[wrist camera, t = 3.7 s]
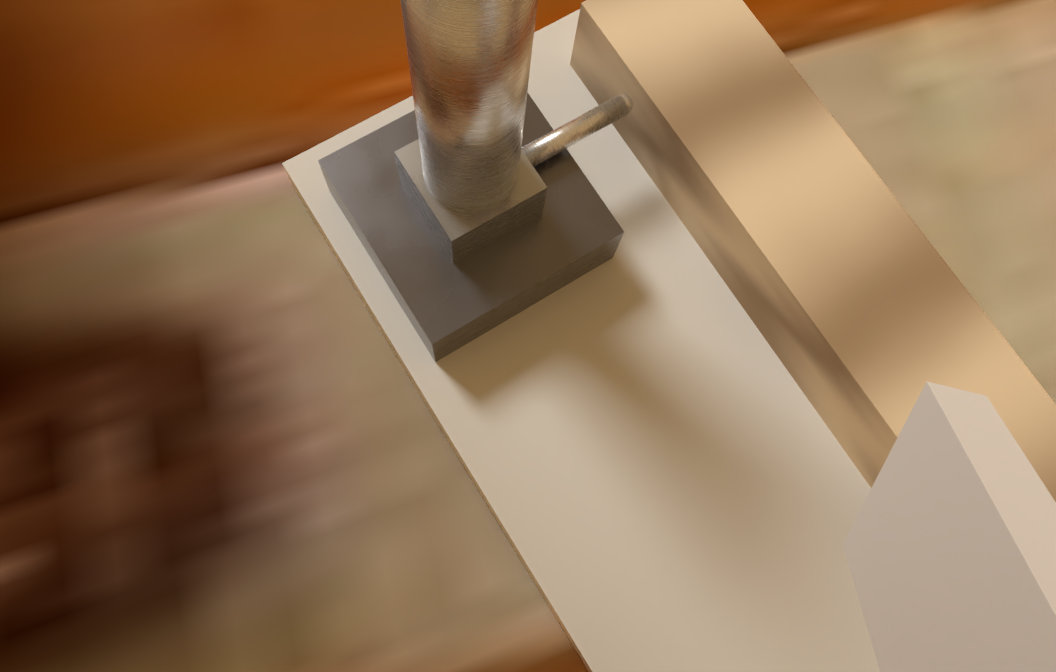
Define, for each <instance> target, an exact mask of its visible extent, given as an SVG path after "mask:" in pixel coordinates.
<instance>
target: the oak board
mask: <svg viewBox="0 0 1056 672" xmlns="http://www.w3.org/2000/svg"><path fill="white" fill-rule="evenodd" d="M570 65H571V67H572V68H573V69H574V71H575V72H576V74H577V75H578V77H579V78H580V79H581V81H582V82H583V84H584V85H585V86H586V88H587V89H588V91H589V92H590V93H591V95H592V96H593V98H594V99H595V100H596V102H597V103H598V105H600V104H602V103H604V102H606V101H608V100H609V99H611V98H613V97H615V96H617V95H619V94H626V95H628V96H629V97H630V98H631V99H632V101H633V108H632V111H631V112H630V113H629V114H628V115H626V116H625V117H623V118H621V119H619V120H617V121H616V122H614V123H612V124H613V126H614V127H615V129H616V130H617V131H618V133H619V134H620V136H621V137H622V138H623V140H624V141H625V143H626V144H627V145H628V147H629V148H630V150H631V151H632V152H633V154H634V155H635V157H636V158H637V160H638V161H639V162H640V164H641V165H642V167H643V168H644V169H645V171H646V172H647V174H648V175H649V176H650V178H651V179H652V181H653V182H654V183H655V185H656V186H657V188H658V189H659V190H660V192H661V193H662V195H663V196H664V197H665V199H666V200H667V202H668V203H669V205H670V206H671V207H672V209H673V210H674V212H675V213H676V214H677V216H678V217H679V219H680V220H681V221H682V223H683V224H684V226H685V227H686V228H687V230H688V231H689V233H690V234H691V235H692V237H693V238H694V240H695V241H696V243H697V244H698V245H699V247H700V248H701V250H702V251H703V252H704V254H705V255H706V257H707V258H708V259H709V261H710V262H711V264H712V265H713V266H714V268H715V269H716V271H717V272H718V273H719V275H720V276H721V278H722V279H723V280H724V282H725V283H726V285H727V286H728V288H729V289H730V290H731V292H732V293H733V295H734V296H735V297H736V299H737V300H738V302H739V303H740V304H741V306H742V307H743V309H744V310H745V311H746V313H747V314H748V316H749V317H750V318H751V320H752V321H753V323H754V324H755V325H756V327H757V328H758V330H759V331H760V333H761V334H762V335H763V337H764V338H765V340H766V341H767V342H768V344H769V345H770V347H771V348H772V349H773V351H774V352H775V354H776V355H777V356H778V358H779V359H780V361H781V362H782V363H783V365H784V366H785V368H786V369H787V371H788V372H789V373H790V375H791V376H792V378H793V379H794V380H795V382H796V383H797V385H798V386H799V387H800V389H801V390H802V392H803V393H804V394H805V396H806V397H807V399H808V400H809V401H810V403H811V404H812V406H813V407H814V408H815V410H816V411H817V413H818V414H819V416H820V417H821V418H822V420H823V421H824V423H825V424H826V425H827V427H828V428H829V430H830V431H831V432H832V434H833V435H834V437H835V438H836V439H837V441H838V442H839V444H840V445H841V446H842V448H843V449H844V451H845V452H846V454H847V455H848V456H849V458H850V459H851V461H852V462H853V463H854V465H855V466H856V468H857V469H858V470H859V472H860V473H861V475H862V476H863V477H864V479H865V480H866V482H867V483H868V484H869V486H870V487H871V488H872V486H873V484H874V482H875V480H876V478H877V476H878V474H879V472H880V470H881V469H882V467H883V465H884V463H885V461H886V459H887V457H888V455H889V453H890V451H891V449H892V447H893V445H894V443H895V442H896V440H897V438H898V436H899V434H900V432H901V430H902V428H903V426H904V424H905V422H906V420H907V418H908V416H909V415H910V413H911V411H912V409H913V407H914V405H915V403H916V401H917V399H918V397H919V395H920V393H921V391H922V389H923V387H924V386H925V384H926V382H931V383H935V384H940V385H944V386H948V387H952V388H956V389H960V390H964V391H969V392H973V393H977V394H981V395H985V396H987V397H988V399H989V400H990V402H991V403H992V405H993V406H994V408H995V410H996V411H997V413H998V414H999V416H1000V417H1001V419H1002V420H1003V422H1004V423H1005V425H1006V426H1007V428H1008V430H1009V431H1010V433H1011V434H1012V436H1013V437H1014V439H1015V440H1016V442H1017V443H1018V445H1019V447H1020V448H1021V450H1022V451H1023V453H1024V454H1025V456H1026V457H1027V459H1028V460H1029V462H1030V463H1031V465H1032V467H1033V468H1034V470H1035V471H1036V473H1037V474H1038V476H1039V477H1040V479H1041V480H1042V482H1043V483H1044V485H1045V487H1046V488H1047V490H1048V491H1049V493H1050V494H1051V496H1052V497H1053V499H1054V500H1055V502H1056V404H1055V403H1054V402H1053V400H1052V399H1051V398H1050V397H1049V395H1048V394H1047V393H1046V391H1045V390H1044V389H1043V388H1042V386H1041V385H1040V384H1039V382H1038V381H1037V380H1036V379H1035V377H1034V376H1033V375H1032V373H1031V372H1030V371H1029V369H1028V368H1027V367H1026V366H1025V364H1024V363H1023V362H1022V360H1021V359H1020V358H1019V357H1018V355H1017V354H1016V353H1015V351H1014V350H1013V349H1012V348H1011V346H1010V345H1009V344H1008V342H1007V341H1006V340H1005V339H1004V337H1003V336H1002V335H1001V333H1000V332H999V331H998V329H997V328H996V327H995V326H994V324H993V323H992V322H991V320H990V319H989V318H988V317H987V315H986V314H985V313H984V311H983V310H982V309H981V308H980V306H979V305H978V304H977V302H976V301H975V300H974V299H973V297H972V296H971V295H970V293H969V292H968V291H967V289H966V288H965V287H964V286H963V284H962V283H961V282H960V280H959V279H958V278H957V277H956V275H955V274H954V273H953V271H952V270H951V269H950V268H949V266H948V265H947V264H946V262H945V261H944V260H943V259H942V257H941V256H940V255H939V253H938V252H937V251H936V249H935V248H934V247H933V246H932V244H931V243H930V242H929V240H928V239H927V238H926V237H925V235H924V234H923V233H922V231H921V230H920V229H919V228H918V226H917V225H916V224H915V222H914V221H913V220H912V219H911V217H910V216H909V215H908V213H907V212H906V211H905V210H904V208H903V207H902V206H901V204H900V203H899V202H898V200H897V199H896V198H895V197H894V195H893V194H892V193H891V191H890V190H889V189H888V188H887V186H886V185H885V184H884V182H883V181H882V180H881V179H880V177H879V176H878V175H877V173H876V172H875V171H874V170H873V168H872V167H871V166H870V164H869V163H868V162H867V160H866V159H865V158H864V157H863V155H862V154H861V153H860V151H859V150H858V149H857V148H856V146H855V145H854V144H853V142H852V141H851V140H850V139H849V137H848V136H847V135H846V133H845V132H844V131H843V130H842V128H841V127H840V126H839V124H838V123H837V122H836V120H835V119H834V118H833V117H832V115H831V114H830V113H829V111H828V110H827V109H826V108H825V106H824V105H823V104H822V102H821V101H820V100H819V99H818V97H817V96H816V95H815V93H814V92H813V91H812V90H811V88H810V87H809V86H808V84H807V83H806V82H805V80H804V79H803V78H802V77H801V75H800V74H799V73H798V71H797V70H796V69H795V68H794V66H793V65H792V64H791V62H790V61H789V60H788V59H787V57H786V56H785V55H784V53H783V52H782V51H781V50H780V48H779V47H778V46H777V44H776V43H775V42H774V40H773V39H772V38H771V37H770V35H769V34H768V33H767V31H766V30H765V29H764V28H763V26H762V25H761V24H760V22H759V21H758V20H757V19H756V17H755V16H754V15H753V13H752V12H751V11H750V10H749V8H748V7H747V6H746V4H745V3H744V2H743V0H586V1H584V2H583V3H581V8H580V13H579V18H578V24H577V29H576V34H575V39H574V45H573V50H572V55H571V61H570Z"/></svg>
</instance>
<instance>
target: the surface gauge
mask: <svg viewBox="0 0 1056 672" xmlns="http://www.w3.org/2000/svg"><path fill="white" fill-rule="evenodd" d="M537 2H538V0H401V7H402V14H403V22H404V30H405V38H406V45H407V53H408V61H409V69H410V76H411V84H412V92H413V100H414V107H415V110H414V111H412V112H410V113H408V114H406V115H404V116H402V117H400V118H398V119H396V120H394V121H392V122H391V123H389V124H387V125H385V126H383V127H381V128H379V129H377V130H375V131H373V132H371V133H369V134H368V135H366V136H364V137H362V138H360V139H358V140H356V141H354V142H352V143H350V144H348V145H347V146H345V147H343V148H341V149H339V150H337V151H335V152H333V153H331V154H329V155H327V156H325V157H324V158H322V159H320V160H318V162H319V165H320V168H321V170H322V173H323V175H324V178H325V181H326V183H327V186H328V188H329V191H330V193H331V195H332V196H333V198H334V199H335V201H336V203H337V204H338V206H339V208H340V209H341V211H342V212H343V214H344V216H345V217H346V219H347V220H348V222H349V224H350V225H351V227H352V229H353V230H354V232H355V233H356V235H357V237H358V238H359V240H360V241H361V243H362V245H363V246H364V248H365V250H366V251H367V253H368V254H369V256H370V258H371V259H372V261H373V262H374V264H375V266H376V267H377V269H378V271H379V272H380V274H381V275H382V277H383V279H384V280H385V282H386V283H387V285H388V287H389V288H390V290H391V292H392V293H393V295H394V296H395V298H396V300H397V301H398V303H399V305H400V306H401V308H402V309H403V311H404V313H405V314H406V316H407V317H408V319H409V321H410V322H411V324H412V326H413V327H414V329H415V330H416V332H417V334H418V335H419V337H420V338H421V340H422V342H423V343H424V345H425V347H426V348H427V350H428V351H429V353H430V355H431V356H432V358H433V359H434V361H435V362H437V361H438V360H440V359H442V358H443V357H445V356H447V355H449V354H450V353H452V352H454V351H455V350H457V349H459V348H460V347H462V346H464V345H466V344H467V343H469V342H471V341H472V340H474V339H476V338H477V337H479V336H481V335H483V334H484V333H486V332H488V331H489V330H491V329H493V328H494V327H496V326H498V325H500V324H501V323H503V322H505V321H506V320H508V319H510V318H511V317H513V316H515V315H517V314H518V313H520V312H522V311H523V310H525V309H527V308H528V307H530V306H532V305H533V304H535V303H537V302H539V301H540V300H542V299H544V298H545V297H547V296H549V295H550V294H552V293H554V292H556V291H557V290H559V289H561V288H562V287H564V286H566V285H567V284H569V283H571V282H573V281H574V280H576V279H578V278H579V277H581V276H583V275H584V274H586V273H588V272H590V271H591V270H593V269H595V268H596V267H598V266H600V265H601V264H603V263H605V262H607V261H608V260H610V259H612V258H613V256H614V254H615V252H616V250H617V247H618V245H619V243H620V241H621V238H622V236H623V234H624V231H623V229H622V228H621V226H620V225H619V223H618V222H617V221H616V219H615V218H614V216H613V215H612V213H611V212H610V210H609V209H608V208H607V206H606V205H605V203H604V202H603V200H602V199H601V198H600V196H599V195H598V193H597V192H596V190H595V189H594V187H593V186H592V185H591V183H590V182H589V180H588V179H587V177H586V176H585V174H584V173H583V172H582V170H581V169H580V167H579V166H578V164H577V163H576V161H575V160H574V159H573V157H572V156H571V154H570V153H569V151H568V150H567V148H569V147H570V146H572V145H574V144H576V143H578V142H579V141H581V140H583V139H585V138H587V137H588V136H590V135H592V134H594V133H596V132H597V131H599V130H601V129H603V128H605V127H606V126H608V125H610V124H612V123H614V122H616V121H617V120H619V119H621V118H623V117H625V116H626V115H628V114H629V113H630V112H631V111H632V108H633V101H632V99H631V98H630V97H629V96H628V95H626V94H619V95H617V96H615V97H613V98H611V99H609V100H608V101H606V102H604V103H602V104H600V105H598V106H597V107H595V108H593V109H591V110H589V111H587V112H586V113H584V114H582V115H580V116H578V117H576V118H575V119H573V120H571V121H569V122H567V123H565V124H564V125H562V126H560V127H558V128H556V129H554V130H553V128H552V127H551V125H550V124H549V122H548V121H547V120H546V118H545V117H544V115H543V114H542V112H541V111H540V110H539V108H538V107H537V105H536V104H535V102H534V101H533V99H532V98H531V97H530V95H529V94H528V92H527V91H528V82H529V73H530V64H531V55H532V46H533V37H534V28H535V20H536V11H537Z"/></svg>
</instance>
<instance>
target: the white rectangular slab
mask: <svg viewBox="0 0 1056 672" xmlns="http://www.w3.org/2000/svg"><path fill="white" fill-rule="evenodd" d="M579 13H580V9H579V10H577V11H575V12H573V13H571V14H569V15H568V16H566V17H564V18H562V19H560V20H558V21H556V22H554V23H552V24H550V25H548V26H546V27H544V28H542V29H541V30H539V31H537V32H535V33H534V37H533V46H532V55H531V64H530V73H529V82H528V91H527V92H528V94H529V95H530V97H531V98H532V99H533V101H534V102H535V104H536V105H537V107H538V108H539V110H540V111H541V112H542V114H543V115H544V117H545V118H546V120H547V121H548V122H549V124H550V125H551V127H552V128H553V130H554V129H556V128H558V127H560V126H562V125H564V124H565V123H567V122H569V121H571V120H573V119H575V118H576V117H578V116H580V115H582V114H584V113H586V112H587V111H589V110H591V109H593V108H595V107H597V106H598V103H597V102H596V100H595V99H594V98H593V96H592V95H591V93H590V92H589V91H588V89H587V88H586V86H585V85H584V84H583V82H582V81H581V79H580V78H579V77H578V75H577V74H576V72H575V71H574V69H573V68H572V67H571V65H570V61H571V55H572V50H573V45H574V39H575V34H576V29H577V24H578V18H579ZM414 110H415V107H414V100H413V96H411V97H409V98H407V99H405V100H403V101H402V102H400V103H398V104H396V105H394V106H392V107H390V108H388V109H386V110H384V111H382V112H380V113H378V114H376V115H375V116H373V117H371V118H369V119H367V120H365V121H363V122H361V123H359V124H357V125H355V126H353V127H351V128H349V129H348V130H346V131H344V132H342V133H340V134H338V135H336V136H334V137H332V138H330V139H328V140H326V141H324V142H322V143H320V144H319V145H317V146H315V147H313V148H311V149H309V150H307V151H305V152H303V153H301V154H299V155H297V156H295V157H293V158H292V159H290V160H288V161H286V162H284V163H282V164H283V166H284V169H285V171H286V173H287V175H288V177H289V179H290V181H291V183H292V185H293V187H294V189H295V190H296V192H297V194H298V195H299V197H300V199H301V200H302V202H303V203H304V205H305V207H306V208H307V210H308V212H309V213H310V215H311V217H312V218H313V220H314V222H315V223H316V225H317V226H318V228H319V230H320V231H321V233H322V235H323V236H324V238H325V240H326V241H327V243H328V244H329V246H330V248H331V249H332V251H333V253H334V254H335V256H336V258H337V259H338V261H339V263H340V264H341V266H342V267H343V269H344V271H345V272H346V274H347V276H348V277H349V279H350V281H351V282H352V284H353V286H354V287H355V289H356V290H357V292H358V294H359V295H360V297H361V299H362V300H363V302H364V304H365V305H366V307H367V308H368V310H369V312H370V313H371V315H372V317H373V318H374V320H375V322H376V323H377V325H378V327H379V328H380V330H381V331H382V333H383V335H384V336H385V338H386V340H387V341H388V343H389V345H390V346H391V348H392V350H393V351H394V353H395V354H396V356H397V358H398V359H399V361H400V363H401V364H402V366H403V368H404V369H405V371H406V372H407V374H408V376H409V377H410V379H411V381H412V382H413V384H414V386H415V387H416V389H417V391H418V392H419V394H420V395H421V397H422V399H423V400H424V402H425V404H426V405H427V407H428V409H429V410H430V412H431V414H432V415H433V417H434V418H435V420H436V422H437V423H438V425H439V427H440V428H441V430H442V432H443V433H444V435H445V436H446V438H447V440H448V441H449V443H450V445H451V446H452V448H453V450H454V451H455V453H456V455H457V456H458V458H459V459H460V461H461V463H462V464H463V466H464V468H465V469H466V471H467V473H468V474H469V476H470V478H471V479H472V481H473V482H474V484H475V486H476V487H477V489H478V491H479V492H480V494H481V496H482V497H483V499H484V500H485V502H486V504H487V505H488V507H489V509H490V510H491V512H492V514H493V515H494V517H495V519H496V520H497V522H498V523H499V525H500V527H501V528H502V530H503V532H504V533H505V535H506V537H507V538H508V540H509V542H510V543H511V545H512V546H513V548H514V550H515V551H516V553H517V555H518V556H519V558H520V560H521V561H522V563H523V564H524V566H525V568H526V569H527V571H528V573H529V574H530V576H531V578H532V579H533V581H534V583H535V584H536V586H537V587H538V589H539V591H540V592H541V594H542V596H543V597H544V599H545V601H546V602H547V604H548V605H549V607H550V609H551V610H552V612H553V614H554V615H555V617H556V619H557V620H558V622H559V624H560V625H561V627H562V628H563V630H564V632H565V633H566V635H567V637H568V638H569V640H570V642H571V643H572V645H573V647H574V648H575V650H576V651H577V653H578V655H579V656H580V658H581V660H582V661H583V663H584V665H585V666H586V668H587V669H588V671H589V672H880V670H879V666H878V663H877V660H876V656H875V653H874V649H873V646H872V642H871V639H870V636H869V632H868V629H867V625H866V622H865V619H864V615H863V612H862V608H861V605H860V601H859V598H858V595H857V591H856V588H855V584H854V581H853V578H852V574H851V571H850V567H849V564H848V560H847V557H846V554H845V550H844V547H843V542H844V540H845V538H846V536H847V534H848V532H849V530H850V528H851V526H852V525H853V523H854V521H855V519H856V517H857V515H858V513H859V511H860V509H861V507H862V505H863V503H864V501H865V499H866V498H867V496H868V494H869V492H870V490H871V487H870V486H869V484H868V483H867V482H866V480H865V479H864V477H863V476H862V475H861V473H860V472H859V470H858V469H857V468H856V466H855V465H854V463H853V462H852V461H851V459H850V458H849V456H848V455H847V454H846V452H845V451H844V449H843V448H842V446H841V445H840V444H839V442H838V441H837V439H836V438H835V437H834V435H833V434H832V432H831V431H830V430H829V428H828V427H827V425H826V424H825V423H824V421H823V420H822V418H821V417H820V416H819V414H818V413H817V411H816V410H815V408H814V407H813V406H812V404H811V403H810V401H809V400H808V399H807V397H806V396H805V394H804V393H803V392H802V390H801V389H800V387H799V386H798V385H797V383H796V382H795V380H794V379H793V378H792V376H791V375H790V373H789V372H788V371H787V369H786V368H785V366H784V365H783V363H782V362H781V361H780V359H779V358H778V356H777V355H776V354H775V352H774V351H773V349H772V348H771V347H770V345H769V344H768V342H767V341H766V340H765V338H764V337H763V335H762V334H761V333H760V331H759V330H758V328H757V327H756V325H755V324H754V323H753V321H752V320H751V318H750V317H749V316H748V314H747V313H746V311H745V310H744V309H743V307H742V306H741V304H740V303H739V302H738V300H737V299H736V297H735V296H734V295H733V293H732V292H731V290H730V289H729V288H728V286H727V285H726V283H725V282H724V280H723V279H722V278H721V276H720V275H719V273H718V272H717V271H716V269H715V268H714V266H713V265H712V264H711V262H710V261H709V259H708V258H707V257H706V255H705V254H704V252H703V251H702V250H701V248H700V247H699V245H698V244H697V243H696V241H695V240H694V238H693V237H692V235H691V234H690V233H689V231H688V230H687V228H686V227H685V226H684V224H683V223H682V221H681V220H680V219H679V217H678V216H677V214H676V213H675V212H674V210H673V209H672V207H671V206H670V205H669V203H668V202H667V200H666V199H665V197H664V196H663V195H662V193H661V192H660V190H659V189H658V188H657V186H656V185H655V183H654V182H653V181H652V179H651V178H650V176H649V175H648V174H647V172H646V171H645V169H644V168H643V167H642V165H641V164H640V162H639V161H638V160H637V158H636V157H635V155H634V154H633V152H632V151H631V150H630V148H629V147H628V145H627V144H626V143H625V141H624V140H623V138H622V137H621V136H620V134H619V133H618V131H617V130H616V129H615V127H614V126H613V124H610V125H608V126H606V127H605V128H603V129H601V130H599V131H597V132H596V133H594V134H592V135H590V136H588V137H587V138H585V139H583V140H581V141H579V142H578V143H576V144H574V145H572V146H570V147H569V148H567V150H568V151H569V153H570V154H571V156H572V157H573V159H574V160H575V161H576V163H577V164H578V166H579V167H580V169H581V170H582V172H583V173H584V174H585V176H586V177H587V179H588V180H589V182H590V183H591V185H592V186H593V187H594V189H595V190H596V192H597V193H598V195H599V196H600V198H601V199H602V200H603V202H604V203H605V205H606V206H607V208H608V209H609V210H610V212H611V213H612V215H613V216H614V218H615V219H616V221H617V222H618V223H619V225H620V226H621V228H622V229H623V231H624V234H623V236H622V238H621V241H620V243H619V245H618V247H617V250H616V252H615V254H614V256H613V258H612V259H610V260H608V261H607V262H605V263H603V264H601V265H600V266H598V267H596V268H595V269H593V270H591V271H590V272H588V273H586V274H584V275H583V276H581V277H579V278H578V279H576V280H574V281H573V282H571V283H569V284H567V285H566V286H564V287H562V288H561V289H559V290H557V291H556V292H554V293H552V294H550V295H549V296H547V297H545V298H544V299H542V300H540V301H539V302H537V303H535V304H533V305H532V306H530V307H528V308H527V309H525V310H523V311H522V312H520V313H518V314H517V315H515V316H513V317H511V318H510V319H508V320H506V321H505V322H503V323H501V324H500V325H498V326H496V327H494V328H493V329H491V330H489V331H488V332H486V333H484V334H483V335H481V336H479V337H477V338H476V339H474V340H472V341H471V342H469V343H467V344H466V345H464V346H462V347H460V348H459V349H457V350H455V351H454V352H452V353H450V354H449V355H447V356H445V357H443V358H442V359H440V360H438V361H437V362H435V361H434V359H433V358H432V356H431V355H430V353H429V351H428V350H427V348H426V347H425V345H424V343H423V342H422V340H421V338H420V337H419V335H418V334H417V332H416V330H415V329H414V327H413V326H412V324H411V322H410V321H409V319H408V317H407V316H406V314H405V313H404V311H403V309H402V308H401V306H400V305H399V303H398V301H397V300H396V298H395V296H394V295H393V293H392V292H391V290H390V288H389V287H388V285H387V283H386V282H385V280H384V279H383V277H382V275H381V274H380V272H379V271H378V269H377V267H376V266H375V264H374V262H373V261H372V259H371V258H370V256H369V254H368V253H367V251H366V250H365V248H364V246H363V245H362V243H361V241H360V240H359V238H358V237H357V235H356V233H355V232H354V230H353V229H352V227H351V225H350V224H349V222H348V220H347V219H346V217H345V216H344V214H343V212H342V211H341V209H340V208H339V206H338V204H337V203H336V201H335V199H334V198H333V196H332V195H331V193H330V191H329V188H328V186H327V183H326V181H325V178H324V175H323V173H322V170H321V168H320V165H319V162H318V160H320V159H322V158H324V157H325V156H327V155H329V154H331V153H333V152H335V151H337V150H339V149H341V148H343V147H345V146H347V145H348V144H350V143H352V142H354V141H356V140H358V139H360V138H362V137H364V136H366V135H368V134H369V133H371V132H373V131H375V130H377V129H379V128H381V127H383V126H385V125H387V124H389V123H391V122H392V121H394V120H396V119H398V118H400V117H402V116H404V115H406V114H408V113H410V112H412V111H414Z"/></svg>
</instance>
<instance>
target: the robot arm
mask: <svg viewBox="0 0 1056 672" xmlns="http://www.w3.org/2000/svg"><path fill="white" fill-rule="evenodd" d="M843 547H844V550H845V554H846V557H847V560H848V564H849V567H850V571H851V574H852V578H853V581H854V584H855V588H856V591H857V595H858V598H859V601H860V605H861V608H862V612H863V615H864V619H865V622H866V625H867V629H868V632H869V636H870V639H871V642H872V646H873V649H874V653H875V656H876V660H877V663H878V666H879V670H880V672H1056V502H1055V500H1054V499H1053V497H1052V496H1051V494H1050V493H1049V491H1048V490H1047V488H1046V487H1045V485H1044V483H1043V482H1042V480H1041V479H1040V477H1039V476H1038V474H1037V473H1036V471H1035V470H1034V468H1033V467H1032V465H1031V463H1030V462H1029V460H1028V459H1027V457H1026V456H1025V454H1024V453H1023V451H1022V450H1021V448H1020V447H1019V445H1018V443H1017V442H1016V440H1015V439H1014V437H1013V436H1012V434H1011V433H1010V431H1009V430H1008V428H1007V426H1006V425H1005V423H1004V422H1003V420H1002V419H1001V417H1000V416H999V414H998V413H997V411H996V410H995V408H994V406H993V405H992V403H991V402H990V400H989V399H988V397H987V396H985V395H981V394H977V393H973V392H969V391H964V390H960V389H956V388H952V387H948V386H944V385H940V384H935V383H931V382H926V384H925V386H924V387H923V389H922V391H921V393H920V395H919V397H918V399H917V401H916V403H915V405H914V407H913V409H912V411H911V413H910V415H909V416H908V418H907V420H906V422H905V424H904V426H903V428H902V430H901V432H900V434H899V436H898V438H897V440H896V442H895V443H894V445H893V447H892V449H891V451H890V453H889V455H888V457H887V459H886V461H885V463H884V465H883V467H882V469H881V470H880V472H879V474H878V476H877V478H876V480H875V482H874V484H873V486H872V488H871V490H870V492H869V494H868V496H867V498H866V499H865V501H864V503H863V505H862V507H861V509H860V511H859V513H858V515H857V517H856V519H855V521H854V523H853V525H852V526H851V528H850V530H849V532H848V534H847V536H846V538H845V540H844V542H843Z"/></svg>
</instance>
